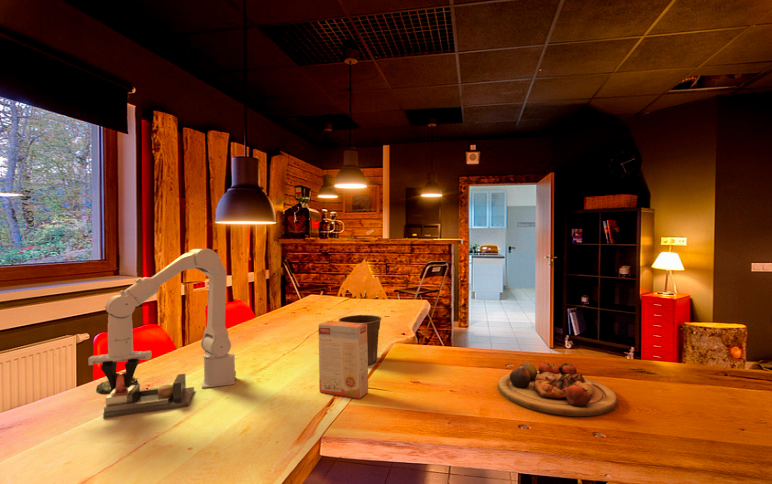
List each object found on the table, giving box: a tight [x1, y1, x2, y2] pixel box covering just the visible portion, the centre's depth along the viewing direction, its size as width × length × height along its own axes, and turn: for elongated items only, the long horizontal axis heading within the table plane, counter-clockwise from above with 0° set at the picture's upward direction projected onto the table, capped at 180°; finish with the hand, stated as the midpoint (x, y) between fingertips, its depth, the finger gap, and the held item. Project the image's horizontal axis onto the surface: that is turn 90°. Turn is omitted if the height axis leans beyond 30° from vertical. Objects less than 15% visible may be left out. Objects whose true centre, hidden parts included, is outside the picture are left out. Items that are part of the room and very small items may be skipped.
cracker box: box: [318, 320, 369, 400], centre depth 117 cm, size 14×6×21 cm, turn 65°
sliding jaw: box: [105, 371, 141, 407], centre depth 109 cm, size 6×8×8 cm
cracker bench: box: [102, 373, 195, 419], centre depth 111 cm, size 20×12×6 cm, turn 109°
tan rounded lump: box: [157, 384, 173, 400], centre depth 112 cm, size 4×4×3 cm
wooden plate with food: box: [497, 360, 618, 417], centre depth 114 cm, size 32×32×8 cm
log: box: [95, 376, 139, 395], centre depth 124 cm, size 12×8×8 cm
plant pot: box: [338, 314, 382, 365], centre depth 148 cm, size 16×16×16 cm
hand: (121, 387), depth 109 cm, fingers closed on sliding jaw, 3 cm apart
